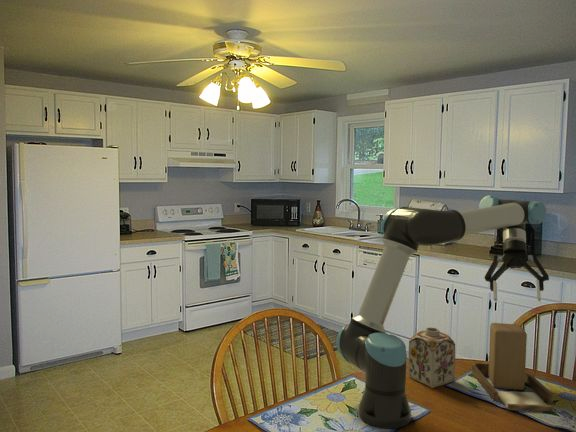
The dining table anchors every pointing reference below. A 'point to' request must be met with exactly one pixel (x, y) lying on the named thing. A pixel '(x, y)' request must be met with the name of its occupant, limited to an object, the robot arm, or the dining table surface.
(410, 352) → the decorative jar
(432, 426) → the dining table surface
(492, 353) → the wooden block
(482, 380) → the bay
